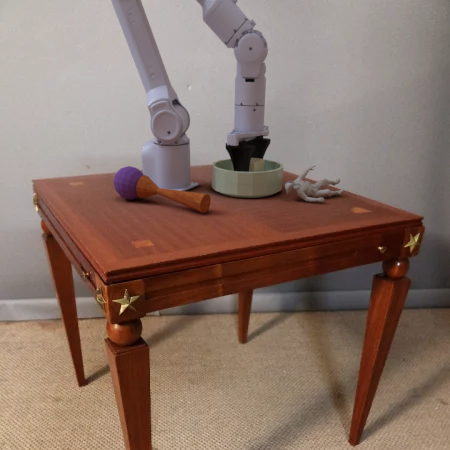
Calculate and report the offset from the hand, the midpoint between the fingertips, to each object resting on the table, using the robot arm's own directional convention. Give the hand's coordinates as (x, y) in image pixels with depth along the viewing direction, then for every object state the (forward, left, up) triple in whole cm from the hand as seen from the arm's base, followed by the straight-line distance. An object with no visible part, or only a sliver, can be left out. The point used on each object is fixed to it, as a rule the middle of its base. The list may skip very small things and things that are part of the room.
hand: (247, 178), depth 101 cm
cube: (0, 0, -1) cm, 1 cm away
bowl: (0, 0, -2) cm, 2 cm away
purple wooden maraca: (-9, -18, -2) cm, 20 cm away
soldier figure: (+14, +1, -2) cm, 14 cm away
